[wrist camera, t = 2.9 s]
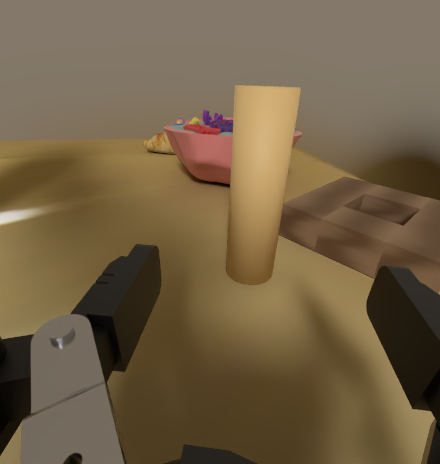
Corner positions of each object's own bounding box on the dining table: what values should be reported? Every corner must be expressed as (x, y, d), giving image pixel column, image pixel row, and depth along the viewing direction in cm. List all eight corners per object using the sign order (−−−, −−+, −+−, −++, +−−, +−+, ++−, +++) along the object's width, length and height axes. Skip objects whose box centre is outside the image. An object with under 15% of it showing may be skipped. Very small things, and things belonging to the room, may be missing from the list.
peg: (216, 268, 24) (221, 85, 17) (247, 251, 26) (262, 85, 19) (251, 291, 21) (274, 88, 15) (281, 270, 24) (313, 88, 17)
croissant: (149, 173, 58) (148, 142, 51) (139, 141, 62) (138, 109, 56) (240, 163, 65) (249, 135, 58) (225, 135, 70) (233, 106, 63)
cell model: (180, 162, 53) (178, 96, 47) (286, 168, 52) (296, 101, 46) (153, 194, 38) (145, 105, 33) (300, 204, 37) (317, 112, 31)
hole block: (278, 234, 29) (282, 204, 28) (338, 201, 38) (344, 176, 36) (431, 304, 21) (452, 266, 19) (464, 241, 29) (480, 211, 28)
